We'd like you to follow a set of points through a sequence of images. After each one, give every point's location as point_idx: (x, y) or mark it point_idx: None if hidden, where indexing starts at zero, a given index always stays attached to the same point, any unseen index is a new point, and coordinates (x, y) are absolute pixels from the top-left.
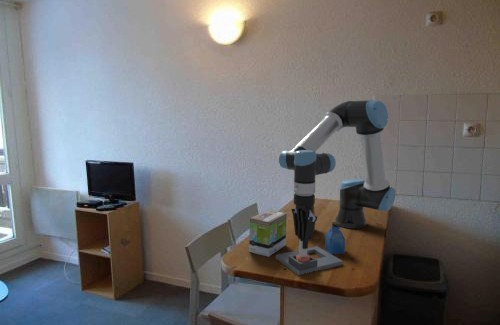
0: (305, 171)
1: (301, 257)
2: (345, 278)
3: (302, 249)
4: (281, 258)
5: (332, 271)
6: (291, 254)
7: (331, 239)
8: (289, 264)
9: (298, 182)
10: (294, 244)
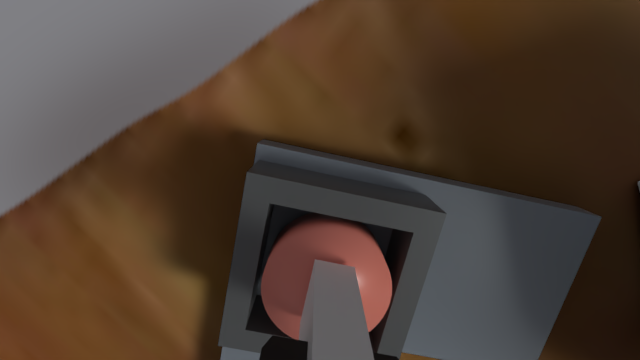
0: None
1: None
2: (63, 340)
3: (308, 328)
4: (518, 203)
5: (176, 351)
6: (507, 313)
7: None
8: (394, 176)
9: None
10: None
